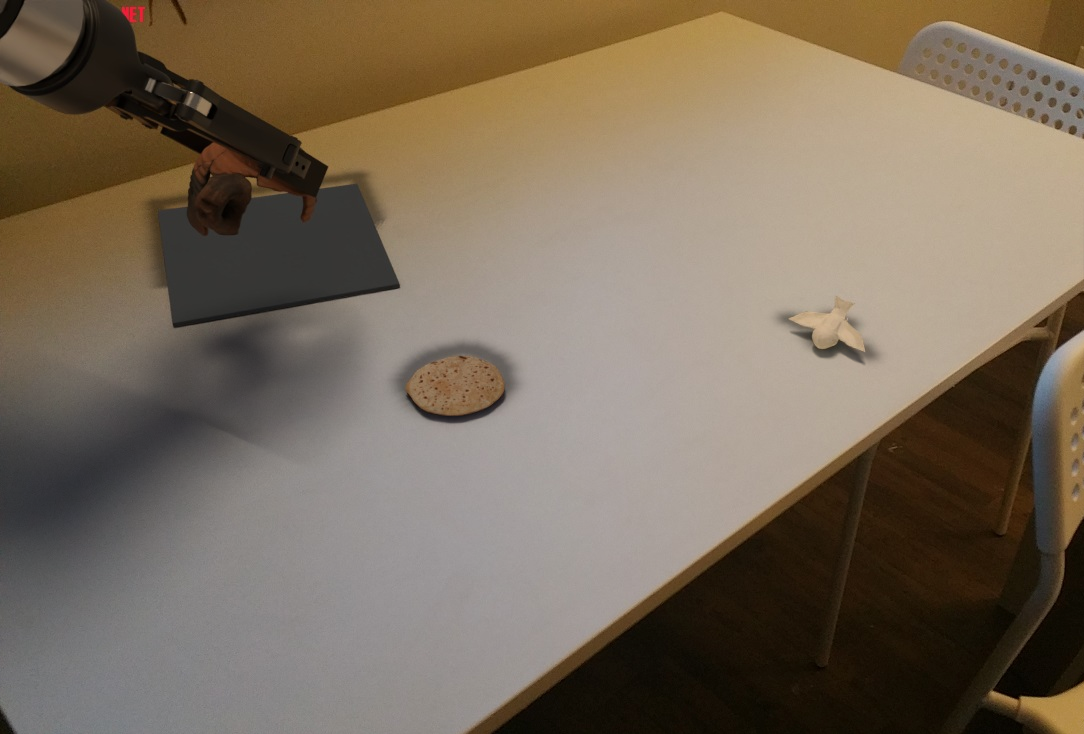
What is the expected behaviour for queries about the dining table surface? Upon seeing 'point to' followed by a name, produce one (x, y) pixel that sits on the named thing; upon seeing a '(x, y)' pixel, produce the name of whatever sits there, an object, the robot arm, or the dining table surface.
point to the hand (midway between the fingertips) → (271, 164)
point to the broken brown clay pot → (229, 191)
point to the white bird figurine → (831, 326)
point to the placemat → (274, 257)
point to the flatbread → (456, 386)
